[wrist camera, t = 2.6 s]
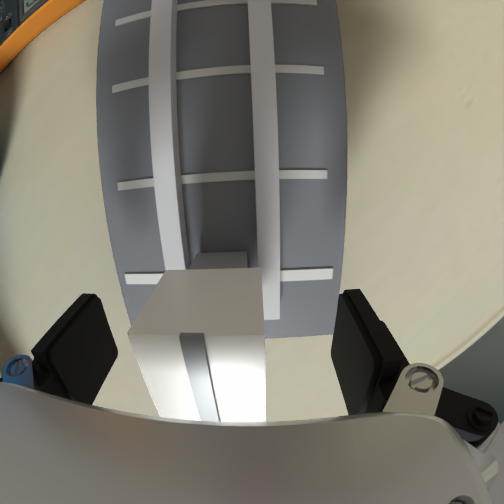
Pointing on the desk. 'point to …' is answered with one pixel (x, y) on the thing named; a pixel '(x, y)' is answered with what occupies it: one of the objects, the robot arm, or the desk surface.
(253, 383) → the fader tab
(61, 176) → the desk surface
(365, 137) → the desk surface
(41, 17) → the multimeter
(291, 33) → the fader console
